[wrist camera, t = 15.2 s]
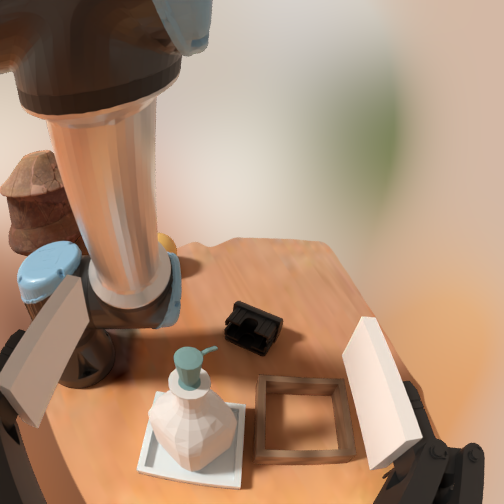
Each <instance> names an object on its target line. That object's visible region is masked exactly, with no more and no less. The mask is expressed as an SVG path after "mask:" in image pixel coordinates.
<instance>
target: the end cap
mask: <svg viewBox="0 0 504 504" xmlns="http://www.w3.org/2000/svg"><path fill="white" fill-rule="evenodd" d="M225 325H228V326H227V327H226V328H225V329H224V331H225V332H224V334H225V339H226V340H227V341H229V342H232V343H234V344H236V345H238V346H240V347H242V348H245V349H247V350H249V351H251V352H254V353H256V354H258V355H260V356H265V355H266V353H267V352H268V350H269V348H270V347H271V345H272V343H275V341H276V340H277V338H278V336H279V333H280V331H281V328H282V325H283V319H282V318H280V317H277V316H275V315H272V314H270V313H267V312H265V311H263V310H260V309H258V308H255V307H253V306H250V305H248V304H246V303H243V302H241V301H237V302H235V303H234V307H233V312H232V313H231V314H230V316H229V317H228V318H227V319H226V321H225Z"/></svg>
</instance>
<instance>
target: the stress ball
mask: <svg viewBox="0 0 504 504" xmlns="http://www.w3.org/2000/svg"><path fill="white" fill-rule="evenodd" d="M158 241H159V242H160V243H161V244H162V246H163V247H164V248H165V250H166V251H167V252H169V253H174V254H176V255H177V248H176V245H175V243H174V241H173V240H172V239H171V238H170V237H169V236H167V235H165V234H162V233H158Z"/></svg>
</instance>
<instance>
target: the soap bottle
mask: <svg viewBox="0 0 504 504" xmlns="http://www.w3.org/2000/svg"><path fill="white" fill-rule="evenodd" d="M215 350H218V347H216V346H213V347H210V348H206V349H205V350H203V351H201V352H200V351H199V350H197V349H196V348H193V347H183V348H180V349H178V350H177V351H176V352H175V354H174V363H175V366H176V369H175V370H173V371H172V372H171V374H170V376H169V378H168V382H169V389H170V390H169V391H167V392H166V393H165V394H163V395H162V396H161V397H159V398H158V399H157V400H156V401H155V403H154V404H153V406H152V407H151V409H150V410H149V412H148V415H149V419H150V423H151V426H152V428H153V431H154V434H155V437H156V439H157V441H158V442H159V443H160V444H161V446H162V447H163V448H164V449H165V450H166V451H167V452H168V453H169V455H170V456H171V457H172V458H173V459H174V460H175V461H176V462H177V463H178V464H179V465H180V466H181V467H182V468H184V469H186V470H188V471H191V472H193V471H198V470H201V469H202V468H204V467H205V466H207V465H208V464H209V463H211V462H212V461H213V460H215V459H216V458H217V457H218V456H220V455H221V454H222V453H224V452H225V451H226V450H227V449H229V448H230V446H231V444H232V442H233V439H234V434H235V430H236V425H237V421H236V419H235V416H234V414H233V412H232V410H231V409H230V407H229V406H228V405H227V404H226V403H225V402H224V401H223V400H222V399H221V398H220V397H219V395H217V394H216V393H215V392H214V391H212V390H211V389H210V387H211V381H210V376H209V375H208V374H207V372H206V371H205V370H203V369H202V368H201V367H202V362H203V356H204V355H206V354H207V353H209V352H212V351H215Z"/></svg>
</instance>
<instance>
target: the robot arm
mask: <svg viewBox="0 0 504 504" xmlns="http://www.w3.org/2000/svg"><path fill="white" fill-rule="evenodd" d="M211 14H212V0H0V74H3V73H7V72H13V73H14V76H15V81H16V85H17V90H18V95H19V99H20V103H21V106H22V108H23V109H24V110H25V111H26V112H27V113H29V114H30V115H32V116H35V117H38V118H41V119H44V120H46V123H47V128H48V132H49V136H50V140H51V144H52V147H53V151H54V155H55V158H56V162H57V165H58V169H59V172H60V175H61V179H62V182H63V185H64V188H65V191H66V194H67V197H68V200H69V203H70V206H71V209H72V212H73V214H74V217H75V220H76V222H77V225H78V228H79V230H80V233H81V235H82V238H83V240H84V243H85V245H86V248H87V250H88V253H89V255H82V252H81V250H80V249H79V247H78V246H77V245H76V244H75V243H74V244H73V243H72V242H70V241H58V242H53V243H50V244H47V245H44V246H42V247H40V248H39V249H37V250H36V251H34V252H33V253H31V254H30V255H29V256H28V257H27V258H26V259H25V260H24V261H23V263H22V264H21V266H20V268H19V270H18V275H17V282H18V285H19V289H20V293H21V298H22V300H23V302H24V303H25V306H26V308H27V310H28V313H29V315H30V317H31V320H32V323H31V325H30V326H29V328H28V329H27V331H23V330H20V329H19V330H18V331H17V332H15V333H14V334H13V335H11V336H10V338H9V340H8V341H7V343H6V344H5V347H3V349H2V350H1V353H0V504H47V502H46V500H45V498H44V496H43V494H42V491H41V489H40V487H39V484H38V482H37V479H36V477H35V474H34V472H33V469H32V467H31V464H30V461H29V458H28V455H27V453H26V450H25V446H24V443H23V440H22V437H21V434H20V430H19V427H18V424H17V422H16V418H17V416H18V415H19V417H20V418H21V419H22V421H23V422H25V423H27V424H29V425H31V426H34V427H36V428H38V427H39V425H40V423H41V420H42V418H43V415H44V413H45V411H46V408H47V406H48V404H49V401H50V399H51V397H52V395H53V392H54V390H55V388H56V386H57V384H58V383H60V384H61V385H64V386H66V387H71V388H83V387H88V386H91V385H93V384H96V383H97V382H99V381H100V380H102V379H103V378H104V377H105V376H106V375H107V374H108V373H109V372H110V370H111V368H112V366H113V364H114V360H115V349H114V346H113V343H112V340H111V338H110V336H109V334H108V333H107V332H106V330H105V329H139V328H152V329H159V328H161V327H170V326H172V325H174V324H175V323H176V322H177V320H178V318H179V314H180V306H181V304H180V300H181V269H180V262H179V259H178V257H177V255H176V254H174V253H169V252H167V251H166V250H165V248H164V247H163V246H162V244H161V243H160V242H159V241H158V233H157V214H156V184H155V183H156V181H155V129H156V128H155V127H156V98H157V96H158V95H159V94H161V93H162V92H164V91H165V90H166V89H168V88H169V87H170V86H172V84H173V83H174V82H175V81H176V80H177V78H178V77H179V73H180V69H181V58H182V55H183V56H192V55H193V54H196V53H201V52H203V51H204V50H205V49H206V48H207V46H208V38H209V28H210V24H211ZM342 358H343V361H344V365H345V369H346V372H347V376H348V380H349V384H350V388H351V391H352V395H353V399H354V403H355V407H356V411H357V415H358V419H359V423H360V428H361V432H362V436H363V440H364V445H365V449H366V454H367V458H368V463H369V468H370V470H374V469H380V468H386V467H387V466H388V465H390V464H391V463H392V462H393V463H394V468H393V469H392V470H390V471H389V472H388V473H386V474H385V475H384V476H383V477H382V478H383V479H384V478H386V477H387V476H388V478H387V480H386V482H385V484H384V485H383V487H382V489H381V491H380V492H379V494H378V496H377V498H376V499H375V501H374V503H373V504H482V499H483V486H484V459H485V458H484V452H483V450H482V448H481V447H480V446H479V445H478V444H476V443H469V444H468V445H466V446H465V447H464V448H462V449H460V448H450V447H447V445H446V444H445V443H444V442H443V441H442V440H439V439H436V438H435V436H434V433H433V431H432V428H431V425H430V422H429V420H428V417H427V414H426V412H425V409H423V407H424V406H423V404H422V401H420V400H421V399H420V396H419V394H418V391H417V389H416V388H415V387H414V386H413V384H412V383H411V382H410V381H402V379H401V377H400V374H399V372H398V369H397V367H396V364H395V362H394V359H393V357H392V355H391V352H390V350H389V347H388V345H387V343H386V340H385V338H384V336H383V333H382V331H381V329H380V327H379V324H378V322H377V320H376V318H375V317H361V319H360V321H359V323H358V325H357V327H356V329H355V331H354V333H353V335H352V337H351V339H350V341H349V343H348V345H347V347H346V349H345V350H344V352H343V354H342ZM453 485H454V486H453Z"/></svg>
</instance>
